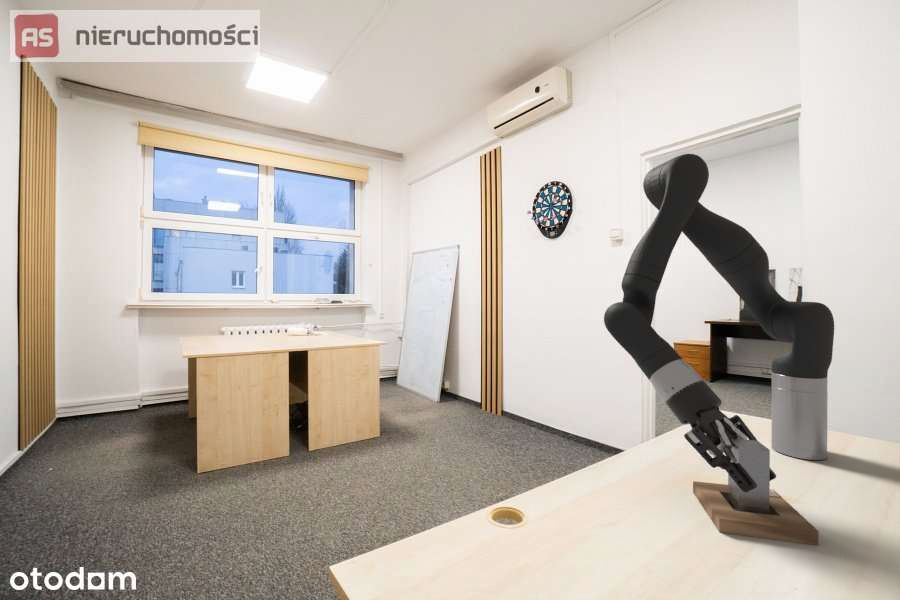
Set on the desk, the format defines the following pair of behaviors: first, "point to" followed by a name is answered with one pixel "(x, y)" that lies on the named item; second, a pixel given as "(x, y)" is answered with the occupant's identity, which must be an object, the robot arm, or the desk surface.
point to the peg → (758, 467)
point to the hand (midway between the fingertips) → (761, 484)
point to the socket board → (754, 516)
